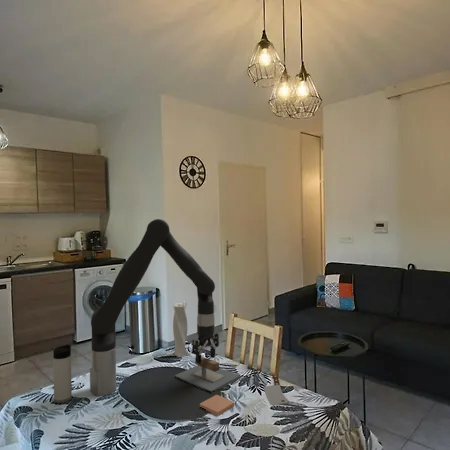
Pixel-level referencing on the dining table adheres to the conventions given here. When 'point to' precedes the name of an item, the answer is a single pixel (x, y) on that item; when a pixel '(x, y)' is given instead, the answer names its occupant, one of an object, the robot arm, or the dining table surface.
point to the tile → (217, 405)
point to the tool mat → (206, 384)
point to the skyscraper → (180, 329)
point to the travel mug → (62, 374)
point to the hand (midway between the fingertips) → (205, 360)
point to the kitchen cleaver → (275, 393)
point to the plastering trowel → (206, 373)
